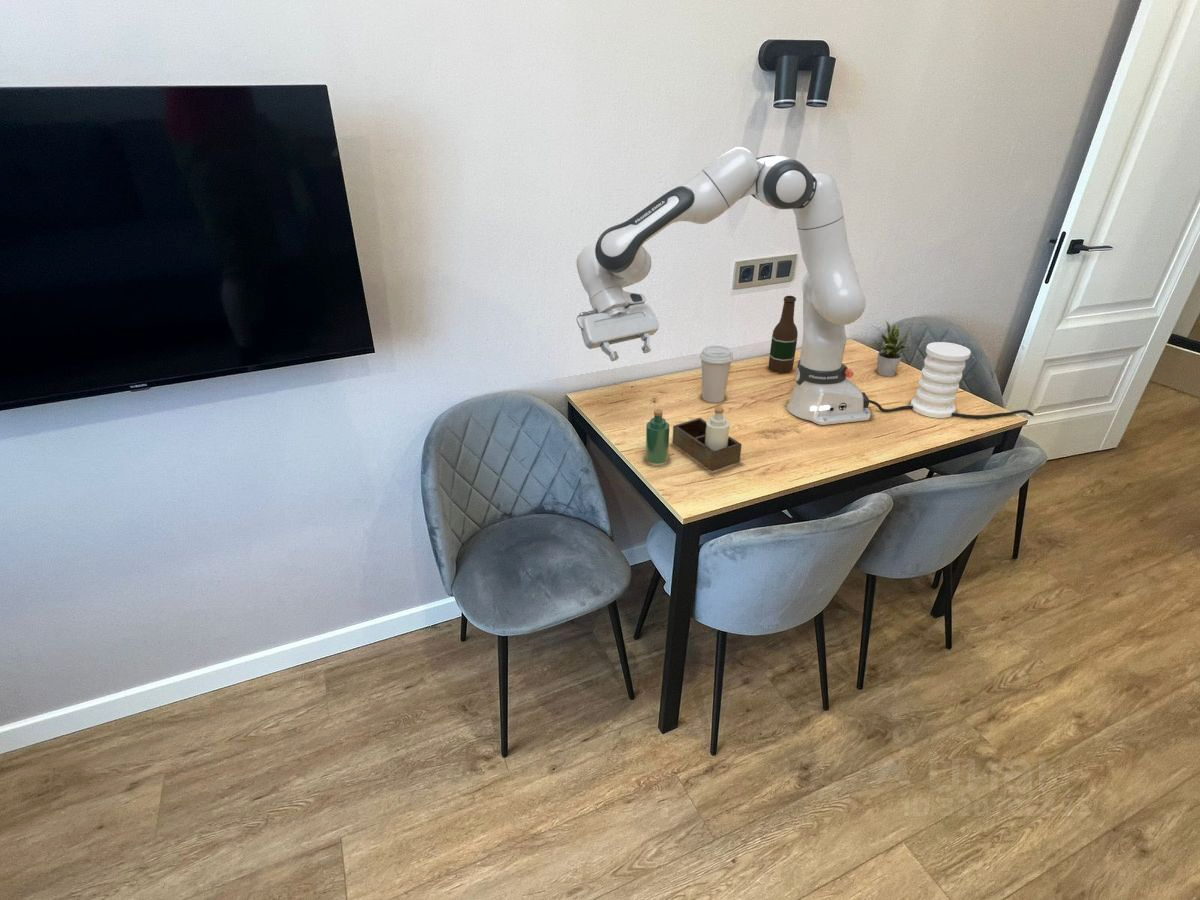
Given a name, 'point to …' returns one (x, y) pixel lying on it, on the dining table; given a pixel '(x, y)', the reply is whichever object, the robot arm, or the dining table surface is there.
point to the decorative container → (940, 379)
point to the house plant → (890, 352)
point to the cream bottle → (717, 430)
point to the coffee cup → (715, 372)
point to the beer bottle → (784, 339)
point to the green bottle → (657, 439)
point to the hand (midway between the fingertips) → (631, 355)
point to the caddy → (693, 443)
